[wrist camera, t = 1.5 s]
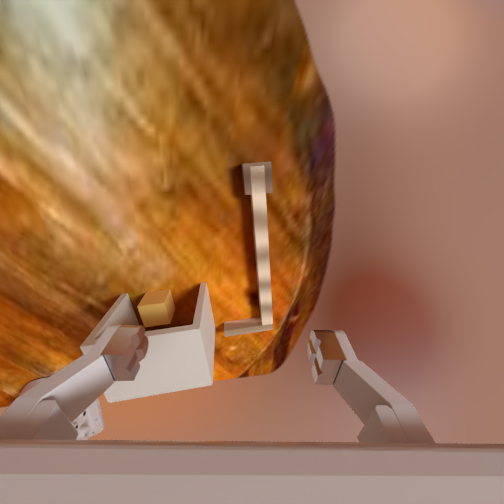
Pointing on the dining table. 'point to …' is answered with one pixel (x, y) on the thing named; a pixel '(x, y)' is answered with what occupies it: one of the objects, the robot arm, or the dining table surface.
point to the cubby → (164, 351)
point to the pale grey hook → (257, 247)
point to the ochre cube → (156, 308)
